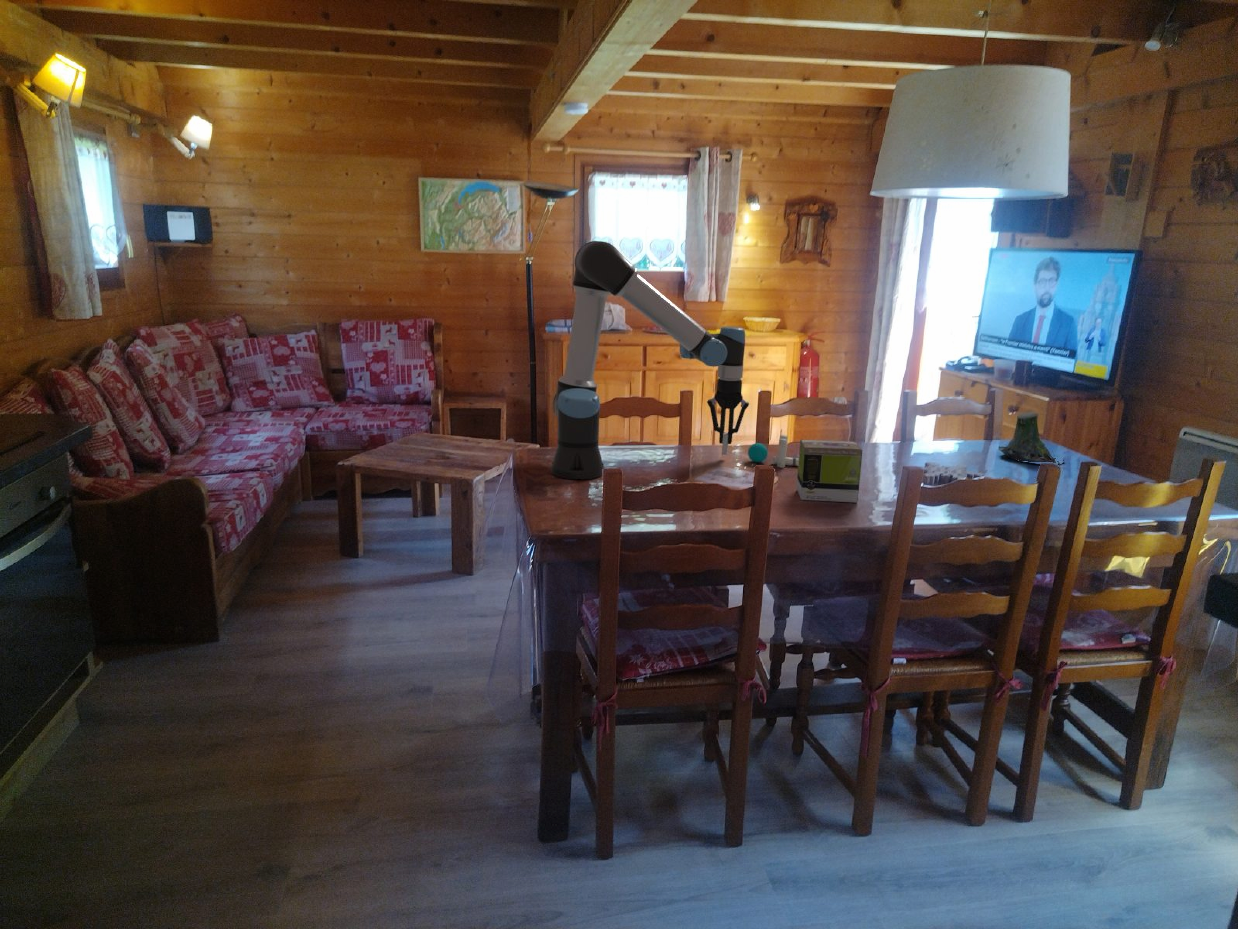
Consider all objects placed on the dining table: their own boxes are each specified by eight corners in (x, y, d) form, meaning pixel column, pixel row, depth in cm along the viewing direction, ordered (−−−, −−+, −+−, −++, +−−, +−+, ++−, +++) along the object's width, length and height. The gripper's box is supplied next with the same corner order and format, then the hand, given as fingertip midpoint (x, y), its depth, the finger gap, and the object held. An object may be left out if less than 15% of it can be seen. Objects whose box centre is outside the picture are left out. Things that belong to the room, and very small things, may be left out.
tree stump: (1079, 468, 259) (1078, 415, 253) (1018, 482, 258) (1016, 429, 252) (1045, 451, 276) (1043, 401, 270) (989, 464, 276) (985, 414, 270)
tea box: (851, 493, 222) (856, 440, 218) (857, 504, 212) (864, 449, 208) (795, 489, 223) (800, 437, 219) (799, 500, 214) (804, 446, 210)
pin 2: (775, 466, 246) (777, 439, 244) (779, 465, 248) (782, 438, 246) (782, 468, 245) (784, 440, 242) (786, 466, 246) (788, 439, 244)
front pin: (773, 455, 248) (801, 457, 246) (773, 457, 250) (801, 459, 249) (772, 462, 247) (800, 464, 246) (772, 465, 250) (800, 467, 248)
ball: (773, 458, 248) (757, 469, 250) (768, 447, 253) (752, 458, 255) (763, 446, 245) (747, 457, 247) (757, 435, 250) (742, 447, 252)
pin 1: (776, 462, 251) (778, 435, 249) (780, 461, 253) (782, 434, 250) (782, 464, 249) (785, 437, 247) (786, 462, 251) (789, 436, 249)
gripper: (752, 378, 248) (746, 452, 254) (710, 375, 251) (705, 449, 257) (750, 381, 241) (744, 458, 247) (706, 378, 244) (702, 454, 250)
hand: (724, 453), depth 252 cm, fingers closed
